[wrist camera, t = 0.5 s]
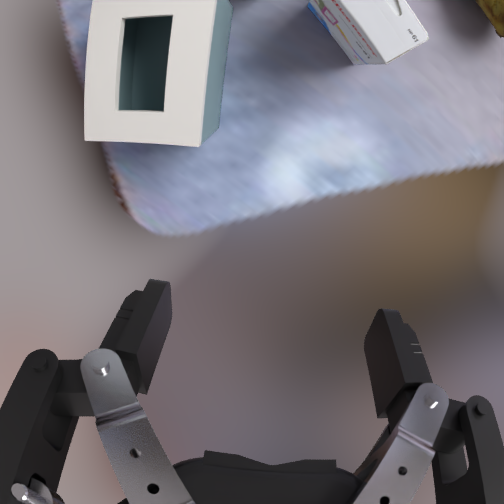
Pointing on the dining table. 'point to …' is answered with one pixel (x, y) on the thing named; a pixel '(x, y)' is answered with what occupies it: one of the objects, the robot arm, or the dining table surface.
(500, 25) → the potato
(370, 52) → the ink box
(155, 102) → the box
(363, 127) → the dining table surface
